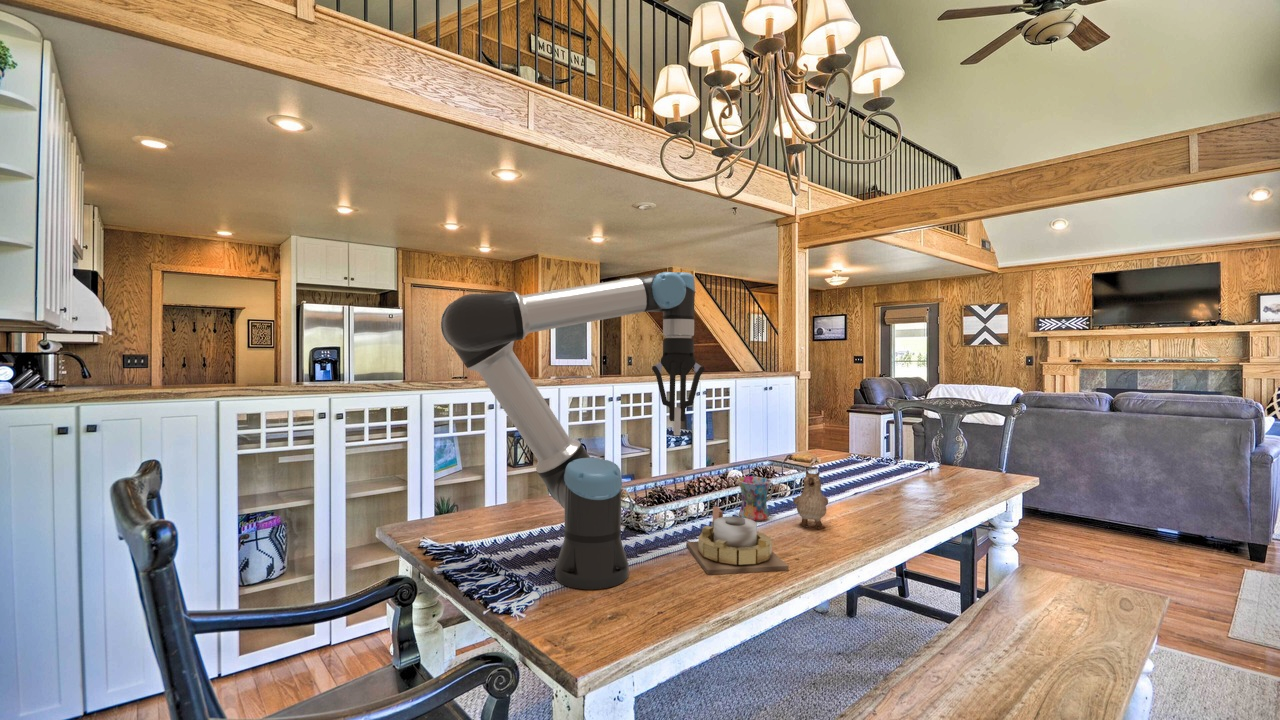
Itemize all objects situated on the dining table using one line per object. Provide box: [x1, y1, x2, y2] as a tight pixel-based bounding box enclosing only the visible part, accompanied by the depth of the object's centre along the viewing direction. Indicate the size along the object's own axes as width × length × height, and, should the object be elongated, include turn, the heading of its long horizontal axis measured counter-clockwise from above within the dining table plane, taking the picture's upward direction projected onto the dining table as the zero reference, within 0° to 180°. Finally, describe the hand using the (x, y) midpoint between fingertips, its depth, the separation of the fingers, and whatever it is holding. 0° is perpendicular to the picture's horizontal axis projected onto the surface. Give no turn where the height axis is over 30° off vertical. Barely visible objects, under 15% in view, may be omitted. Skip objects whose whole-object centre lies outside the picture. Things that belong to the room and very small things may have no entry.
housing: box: [685, 516, 789, 576], centre depth 136 cm, size 18×19×9 cm
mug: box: [737, 476, 775, 521], centre depth 168 cm, size 12×9×11 cm
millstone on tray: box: [698, 506, 773, 565], centre depth 139 cm, size 24×16×6 cm
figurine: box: [792, 470, 829, 530], centre depth 160 cm, size 9×10×15 cm
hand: (676, 434), depth 145 cm, fingers closed
